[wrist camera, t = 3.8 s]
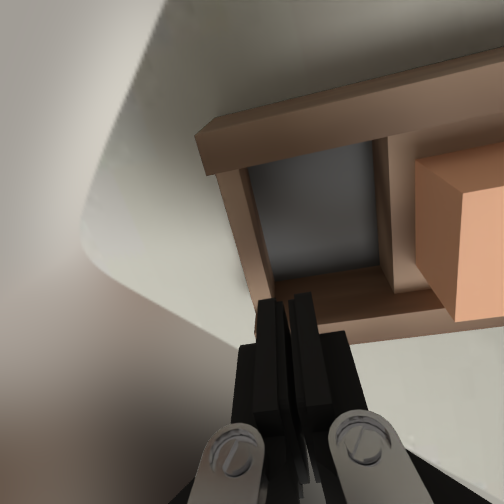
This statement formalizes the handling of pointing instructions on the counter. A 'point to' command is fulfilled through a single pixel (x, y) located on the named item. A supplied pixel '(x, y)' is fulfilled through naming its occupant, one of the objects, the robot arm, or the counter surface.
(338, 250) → the box
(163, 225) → the counter surface
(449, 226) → the block
